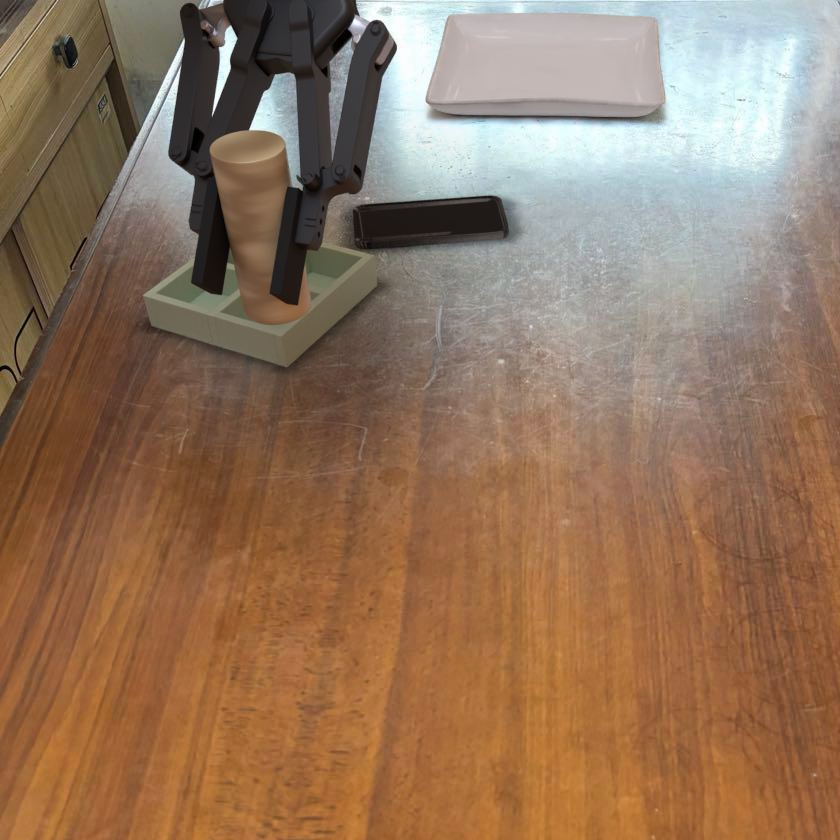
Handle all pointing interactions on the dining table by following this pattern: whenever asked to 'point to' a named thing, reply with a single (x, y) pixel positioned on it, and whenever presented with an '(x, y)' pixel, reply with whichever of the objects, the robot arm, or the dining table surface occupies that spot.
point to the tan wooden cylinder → (256, 218)
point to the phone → (429, 222)
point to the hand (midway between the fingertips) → (245, 293)
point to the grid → (231, 329)
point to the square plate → (548, 65)
